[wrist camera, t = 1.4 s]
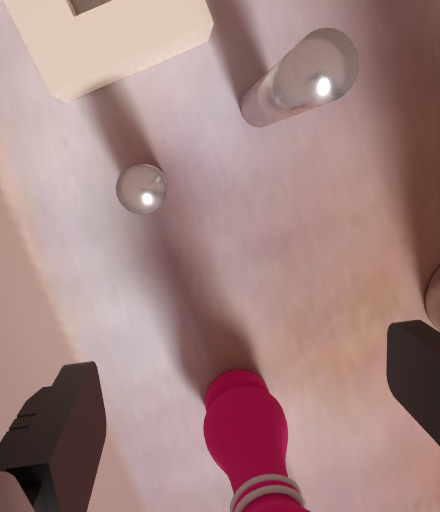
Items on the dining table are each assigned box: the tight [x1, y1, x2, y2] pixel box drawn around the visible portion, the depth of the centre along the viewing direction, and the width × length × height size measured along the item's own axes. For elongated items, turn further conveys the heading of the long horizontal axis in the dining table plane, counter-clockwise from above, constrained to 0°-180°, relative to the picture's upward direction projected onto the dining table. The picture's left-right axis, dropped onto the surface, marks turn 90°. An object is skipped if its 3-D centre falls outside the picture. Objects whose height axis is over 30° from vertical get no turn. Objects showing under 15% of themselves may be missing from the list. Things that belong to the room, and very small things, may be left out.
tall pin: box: [241, 28, 358, 127], centre depth 25 cm, size 3×3×14 cm
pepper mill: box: [203, 370, 310, 512], centre depth 28 cm, size 7×7×20 cm
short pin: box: [116, 164, 167, 214], centre depth 29 cm, size 3×3×7 cm
